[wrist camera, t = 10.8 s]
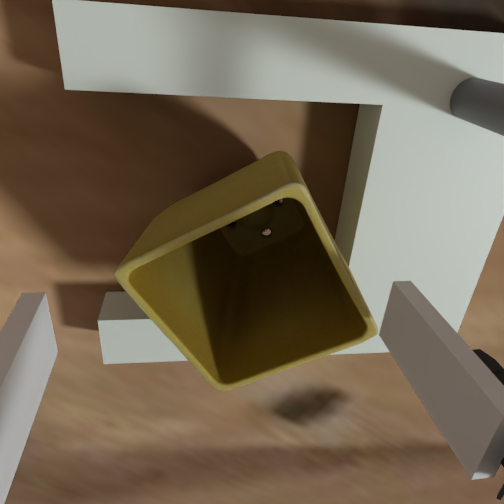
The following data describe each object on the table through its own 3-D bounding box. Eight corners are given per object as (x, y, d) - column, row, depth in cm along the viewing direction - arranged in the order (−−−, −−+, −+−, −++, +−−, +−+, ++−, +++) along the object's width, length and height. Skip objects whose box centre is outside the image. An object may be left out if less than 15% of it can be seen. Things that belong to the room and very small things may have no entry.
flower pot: (150, 181, 25) (106, 274, 17) (285, 108, 22) (301, 180, 15) (227, 285, 29) (218, 395, 21) (346, 233, 27) (382, 337, 19)
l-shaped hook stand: (111, 333, 29) (33, 652, 15) (69, -1, 20) (-283, -37, 5) (430, 322, 33) (624, 573, 18) (529, 35, 23) (1119, 76, 8)
